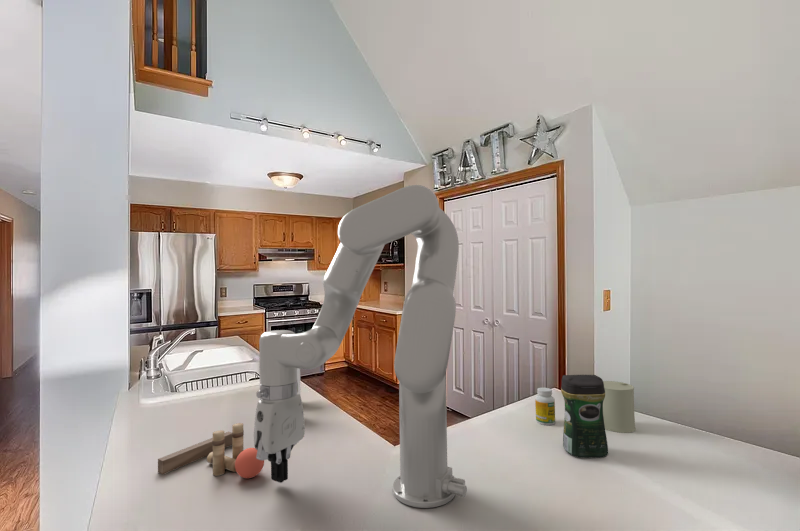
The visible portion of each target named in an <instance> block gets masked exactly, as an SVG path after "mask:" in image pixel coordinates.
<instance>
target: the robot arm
mask: <svg viewBox="0 0 800 531" xmlns="http://www.w3.org/2000/svg"><path fill="white" fill-rule="evenodd" d="M410 234H411V235H413V237H414V238H415V239H416V244H417V251H416V256H415V262H414V264H415V265H414V271H413V272H414V273H413V276H412V283H411V287H410V289H409V290H408V291H407V294H406V295H405V299H404V302H403V306H402V311H401V316H400V317H401V319H400V324H399V331H398V336H397V343H396V350H395V354H394V355H395V356H394V362H393V366H394V367H393V368H394V373H395V376H396V378H397V381H398V383H399V384H398V386H399V387H398V391H399V392H398V395H399V397H398V401H399V402H398V403H399V404H398V407H399V411H398V413H399V414H398V416H399V418H398V420H399V464H400V465H399V467H400V468H399V469H400V470H399V471H400V475H399V476H398V477H397V478H395V480H394V481H393V483H392V493H393V496H394V497H395V498H396V499H397V501H399V502H400V503H401V504H404V505H406V506H409V507H413V508H418V509H419V508H420V509H431V508H436V507H440V506H444V505H446V504H448V503H450V502H451V501H452V500H453V499H454V498H455V496H456V495H457V496H460V497H463V498H464V497H466V495H467V490H468V489H467V485H466V480H465V479H464V478H461V477H460V478H458V477H455V475H453V467H452V466H448V428H447V426H448V424H447V420H448V419H447V380H446V379H447V376H446V375H447V374H446V373H447V370H448V363H449V359H450V352H451V347H452V340H453V333H454V328H455V321H456V314H457V313H456V312H457V311H456V310H457V304H456V300H455V296H454V294H455V283H456V277H457V269H458V263H459V262H458V261H459V253H460V252H459V250H460V249H459V248H460V245H459V244H460V241H459V237H458V232H457V228H456V227H455V225H454V223H453V221H452V220H451V218H450V216H448V214H447V213H446V212H445V211H444V210H443V209H441V207H440V204H439V200H438V198H437V196H436V194H435V193H434V191H433V190H432V189H430V188H428V187H427V186H424V185H419V184H413V185H408V186H404V187H401V188H398V189H397V190H394V191H392V192H389V193H387V194H385V195H383V196H381V197H377V198H375V199H374V200H371V201H369V202H366V203H364V204H362V205H359V206H357V207H355V208H353V209H351V210H350V211H348V212H346V213H345V215H344V216H343V217H342V218H341V220H340V221H339V224H338V227H337V236H338V239H339V245H338V247H337V249H336V252H335V254H334V255H333V258H332V260H331V262H330V264H329V265H328V266H329V267H328V268H327V270H326V272H325V274H324V277H323V283H322V284H323V289H324V297H323V302H322V305H321V308H320V311H319V313H318V316H317V318H316V320H315V322H314V324H313V325H312V328H311V329H308V330H307V331H304V332H298V333H296V332H294V331H292V330H287V329H286V330H285V329H280V330H279V329H276V330H275V329H274V330H269V331H265V332H263V333H262V334H261V335H260V337H259V344H258V346H259V348H258V350H259V351H258V352H259V357H258V358H259V359H258V360H259V390H258V391H257V392H256V393H255V394H256V397H257V399H259V400H258V401H257V404H256V409H255V415H254V416H255V417H254V427H253V428H254V429H253V445H254V448H255V449H256V450H257V455H256V459H258V460H264V461H267V460H268V462H270V478H271V480H272V481H274V482H277V483H280V484H282V483H284V482H285V481H287V480H289V479H288V478H289V468H288V467H289V465H288V463H289V462H288V460H290V458H291V454H292V453H291V452H292V450H293V448H294V447H295V446H296V445H297V444H298V443H299V442H300V441H301V440H303V438H304V437H305V431H306V430H305V414H304V407H303V406H304V405H303V401H302V397H301V392H300V393H298V392H297V368H299V369H300V370H309V371H310V370H315V369H318V368H320V367H321V366H322V365H324V364H325V363H327V361H328V360H330V359H331V358H332V357H333V356H334V355H335V354H336V353H337V351H338V350H339V348H340V346H341V345H342V342H343V340H344V338H345V336H346V333H347V332H348V330H349V327H350V325H351V322H352V320H353V317H354V315H355V313H356V310H357V309H358V308H357V307H358V306H359V303H360V300H361V297H362V295H363V293H364V290H365V287H366V286H367V283H368V282H369V280H370V277H371V275H372V273H373V271H374V268H375V266H376V265H377V263H378V260H379V259H380V257H381V254H382V251H383V249H384V247H385V245H387V244H389V243H393V242H394V241H396V240H399V239H401V238H404V237H406V236H408V235H410Z"/></svg>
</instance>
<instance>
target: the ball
mask: <svg viewBox="0 0 800 531" xmlns="http://www.w3.org/2000/svg"><path fill="white" fill-rule="evenodd" d="M256 455H257V450H256V449H255V447H248V448H246V449H245V448H244V450H243V451H242V452H241V453H240V454H239V455H238V457H237V459H236V462H235V469H236V472H235V473H237V475H239V476H240V477H241V478H243V479H251V478H255V477H256V476H257V475H259V474H260V473H261V471H262V470H263V467H264V465H265V460H258V459H256ZM239 476H238V477H239Z"/></svg>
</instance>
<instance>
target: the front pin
mask: <svg viewBox="0 0 800 531" xmlns="http://www.w3.org/2000/svg"><path fill="white" fill-rule="evenodd" d="M206 461H207V463H209V464H211V465H213V452H211V453H210V454H209V455H208V456H206ZM235 462H236V459H233V458H232V457H231V456H227V455H225V470H227V471H231V472H233V473H237V472H236V469H235Z"/></svg>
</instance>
